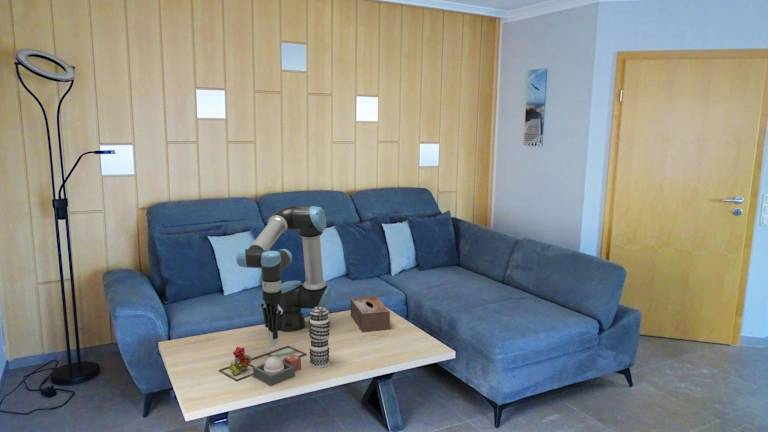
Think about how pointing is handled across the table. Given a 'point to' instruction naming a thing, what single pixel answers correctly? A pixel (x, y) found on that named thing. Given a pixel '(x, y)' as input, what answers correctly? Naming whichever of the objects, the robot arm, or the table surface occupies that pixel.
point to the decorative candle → (319, 337)
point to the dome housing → (290, 367)
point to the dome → (273, 365)
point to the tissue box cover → (370, 314)
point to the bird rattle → (243, 358)
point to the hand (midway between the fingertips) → (273, 345)
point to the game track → (279, 353)
